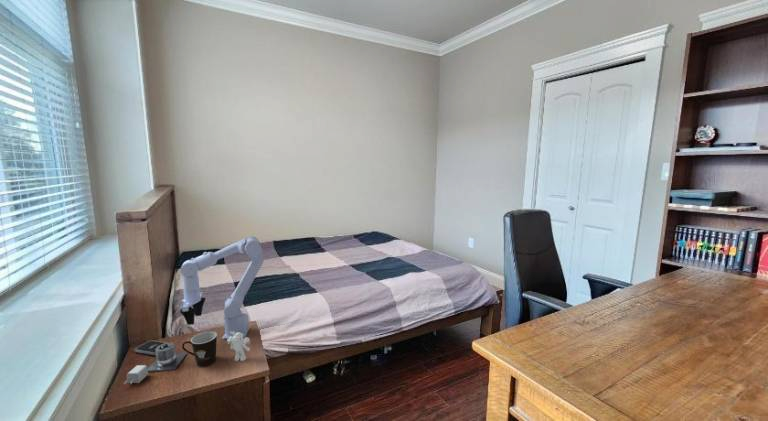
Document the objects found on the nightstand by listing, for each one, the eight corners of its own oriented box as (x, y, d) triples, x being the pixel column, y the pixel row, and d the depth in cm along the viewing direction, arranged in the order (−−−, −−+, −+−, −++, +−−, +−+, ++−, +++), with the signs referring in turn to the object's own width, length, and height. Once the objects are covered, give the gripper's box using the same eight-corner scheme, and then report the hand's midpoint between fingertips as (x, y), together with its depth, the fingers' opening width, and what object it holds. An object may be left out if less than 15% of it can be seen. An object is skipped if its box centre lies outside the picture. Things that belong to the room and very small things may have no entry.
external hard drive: (150, 344, 136) (150, 340, 135) (171, 348, 133) (171, 343, 133) (134, 354, 129) (133, 349, 129) (156, 357, 126) (155, 353, 126)
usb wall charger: (148, 375, 115) (147, 365, 115) (133, 388, 109) (132, 378, 108) (137, 375, 115) (135, 365, 115) (121, 389, 108) (120, 378, 108)
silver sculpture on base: (187, 353, 128) (186, 340, 127) (175, 369, 118) (173, 355, 117) (160, 356, 127) (158, 343, 126) (145, 372, 117) (143, 358, 116)
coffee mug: (224, 357, 126) (222, 333, 124) (205, 370, 118) (203, 345, 116) (201, 351, 129) (199, 328, 128) (182, 364, 121) (179, 340, 120)
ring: (177, 351, 125) (176, 342, 125) (170, 360, 120) (169, 350, 119) (161, 353, 124) (160, 343, 124) (154, 361, 119) (152, 351, 118)
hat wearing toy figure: (226, 361, 123) (224, 332, 121) (232, 355, 127) (230, 326, 125) (248, 363, 122) (246, 333, 120) (253, 357, 126) (251, 328, 124)
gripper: (189, 283, 140) (192, 312, 142) (172, 296, 126) (176, 329, 128) (206, 282, 141) (209, 311, 143) (191, 295, 127) (195, 327, 129)
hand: (194, 319), depth 135 cm, fingers open, 7 cm apart
